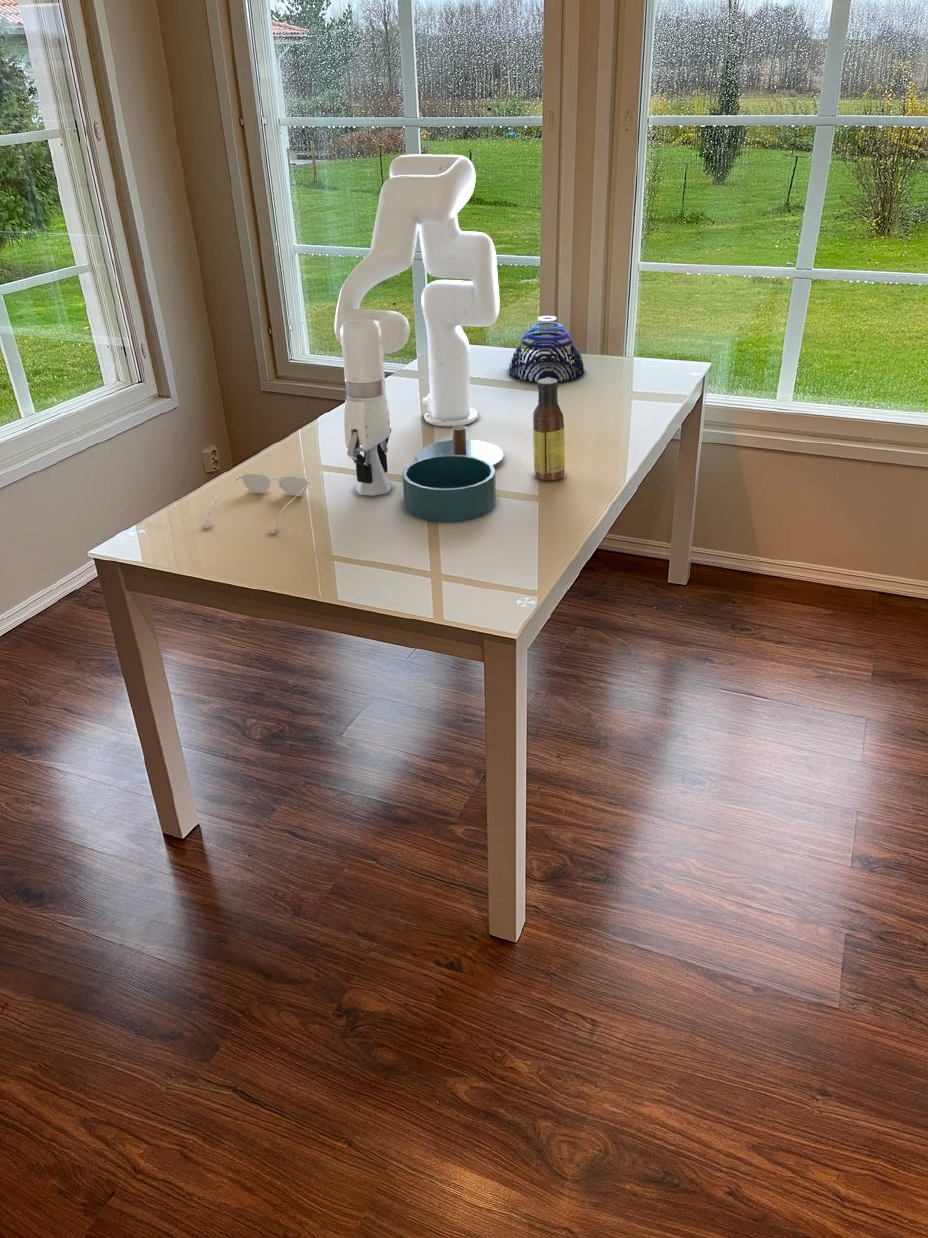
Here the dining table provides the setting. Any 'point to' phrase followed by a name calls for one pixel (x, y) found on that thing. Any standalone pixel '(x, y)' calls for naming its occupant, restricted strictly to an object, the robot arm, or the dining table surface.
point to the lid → (463, 448)
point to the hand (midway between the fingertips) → (372, 476)
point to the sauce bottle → (548, 432)
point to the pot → (449, 488)
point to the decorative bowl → (576, 356)
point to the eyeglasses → (262, 483)
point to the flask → (375, 477)
